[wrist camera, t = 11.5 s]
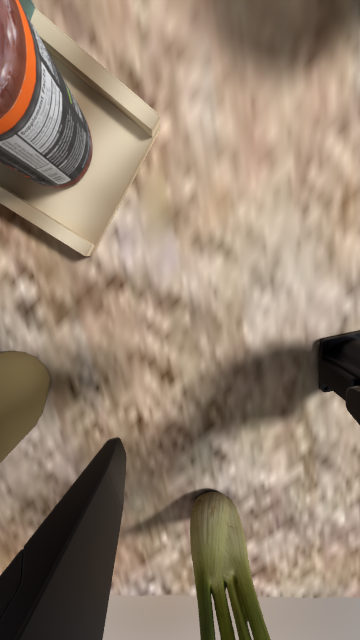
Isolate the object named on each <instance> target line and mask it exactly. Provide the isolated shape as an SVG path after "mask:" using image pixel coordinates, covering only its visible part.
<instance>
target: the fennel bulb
mask: <svg viewBox="0 0 360 640" xmlns="http://www.w3.org/2000/svg"><path fill="white" fill-rule="evenodd" d="M190 540H191V554H192V561H193V568H194V575H195V583H196V591H197V600H198V609H199V621H200V634H201V640H215V630H214V621H213V610H212V601H211V593H212V596H213V599H214V605H215V610H216V616H217V620H218V625H219V631H220V636H221V640H235V635H234V630H233V626H232V621H231V616H230V612H229V608H228V603H227V598H226V593H225V590H226V587H227V590H228V593H229V598H230V602H231V606H232V610H233V615H234V618H235V623H236V627H237V632H238V636H239V640H252V639H251V636H250V633H249V629H248V625H247V621H249V624H250V628H251V631H252V635H253V638H254V640H270V637H269V634H268V631H267V628H266V625H265V622H264V619H263V615H262V612H261V609H260V606H259V602H258V599H257V596H256V593H255V589H254V585H253V582H252V578H251V572H250V567H249V560H248V554H247V547H246V541H245V536H244V532H243V528H242V524H241V520H240V517H239V514H238V511H237V509H236V506H235V504H234V503H233V501H232V500H231V499H230V498H229V497H227V496H225V495H224V494H222V493H219V492H207V493H204V494H201V495H200V496H199V497H198V498H197V499H196V500H195V502H194V504H193V507H192V513H191V521H190Z"/></svg>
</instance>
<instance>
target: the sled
mask: <svg viewBox="0 0 360 640" xmlns="http://www.w3.org/2000/svg"><path fill="white" fill-rule="evenodd" d="M19 1H20V3H21V5H22V7H23V9H24V11H25V12H26V14H27V16H28V17H29V19H30V21H31V23H32V24H33V26H34V28H35V30H36V31H37V33H38V35H39V37H40V39H41V40H42V42H43V44H44V45H45V47H46V49H47V51H48V52H49V54H50V56H51V57H52V59H53V61H54V63H55V65H56V66H57V68H58V70H59V72H60V74H61V75H62V77H63V79H64V81H65V82H66V84H67V86H68V88H69V89H70V91H71V93H72V95H73V96H74V98H75V100H76V102H77V103H78V105H79V107H80V109H81V111H82V112H83V115H84V117H85V119H86V121H87V123H88V126H89V129H90V133H91V137H92V144H93V154H92V160H91V163H90V166H89V168H88V170H87V172H86V173H85V175H84V176H83V178H82V179H81V180H80V181H78V182H77V183H75V184H73V185H71V186H68V187H65V188H52V187H47V186H44V185H41V184H39V183H36V182H34V181H32V180H30V179H28V178H26V177H25V176H23V175H21V174H20V173H18V172H16V171H14V170H12V169H11V168H9V167H7V166H6V165H4V164H2V163H0V203H1V204H3V205H4V206H6V207H7V208H9V209H11V210H12V211H14V212H15V213H17V214H19V215H20V216H22V217H23V218H25V219H27V220H28V221H30V222H31V223H33V224H34V225H36V226H38V227H39V228H41V229H42V230H44V231H46V232H47V233H49V234H50V235H52V236H54V237H55V238H57V239H58V240H60V241H62V242H63V243H65V244H66V245H68V246H70V247H71V248H73V249H74V250H76V251H77V252H79V253H81V254H82V255H84V256H93V254H94V252H95V250H96V248H97V246H98V244H99V243H100V241H101V239H102V237H103V235H104V233H105V232H106V230H107V228H108V226H109V224H110V222H111V220H112V219H113V217H114V215H115V213H116V211H117V209H118V207H119V206H120V204H121V202H122V200H123V198H124V196H125V195H126V193H127V191H128V189H129V187H130V185H131V183H132V182H133V180H134V178H135V176H136V174H137V172H138V170H139V169H140V167H141V165H142V163H143V161H144V159H145V158H146V156H147V154H148V152H149V150H150V148H151V146H152V145H153V143H154V141H155V139H156V137H157V135H158V133H159V132H160V115H159V114H158V113H157V112H155V111H154V110H153V109H152V108H151V107H150V106H148V105H147V104H146V103H145V102H144V101H143V100H141V99H140V98H139V97H138V96H137V95H136V94H134V93H133V92H132V91H131V90H130V89H129V88H128V87H126V86H125V85H124V84H123V83H122V82H121V81H119V80H118V79H117V78H116V77H115V76H114V75H112V74H111V73H110V72H109V71H108V70H107V69H105V68H104V67H103V66H102V65H101V64H100V63H98V62H97V61H96V60H95V59H94V58H93V57H92V56H90V55H89V54H88V53H87V52H86V51H85V50H83V49H82V48H81V47H80V46H79V45H78V44H76V43H75V42H74V41H73V40H72V39H71V38H69V37H68V36H67V35H66V34H65V33H64V32H62V31H61V30H60V29H59V28H58V27H57V26H55V25H54V24H53V23H52V22H51V21H50V20H49V19H47V18H46V17H45V16H44V15H43V14H42V13H40V12H39V11H38V10H37V9H36V8H35V7H34V5H33V3H32V1H31V0H19Z"/></svg>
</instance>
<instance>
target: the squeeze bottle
mask: <svg viewBox="0 0 360 640" xmlns="http://www.w3.org/2000/svg"><path fill="white" fill-rule="evenodd" d="M49 388H50V375H49V373H48V371H47V369H46V367H45V366H44V365H43V364H42V363H41V362H40V361H39V360H38V359H37V358H36V357H33V356H31V355H29V354H27V353H25V352H17V351H8V352H3V353H0V463H1V462H2V460H3V459H4V458H5V457H6V456H7V455H8V454H9V453H10V452H11V451H12V450H13V449H14V448H15V447H16V446H17V445H18V443H19V442H20V441H21V440H22V439H23V438H24V437H25V436H26V435H27V434H28V433H29V432H30V431H31V430H32V429H33V428H34V426H35V425H36V423H37V422H38V420H39V418H40V416H41V414H42V412H43V409H44V405H45V402H46V398H47V395H48V391H49Z"/></svg>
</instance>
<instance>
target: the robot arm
mask: <svg viewBox="0 0 360 640" xmlns="http://www.w3.org/2000/svg"><path fill="white" fill-rule="evenodd" d="M325 343H326V344H325ZM319 389H320V390H321V391H323V392H330V391H334V392H335V393H336V394H338V395H339V396H340V397H341V398H343V399H344V400H345V401H346V408H347V410H348V411H349V413H350V414H351V415H352V416H353V418H354V419H355V420H356V421H357V422H358V424H359V425H360V331H357V332H352V333H348V334H343V335H338V336H333V337H329V338H324V339H322V340H321V341H320V353H319ZM125 473H126V452H125V449H124V447H123V444H122V441H121V439H120V438H119V437H117V438H112V439H109V440H108V441H107V442H106V443H105V445H104V446H103V447H102V448H101V450H100V451H99V452H98V453H97V455H96V456H95V457H94V458H93V460H92V461H91V462H90V463H89V465H88V466H87V467H86V469H85V470H84V471H83V472H82V474H81V475H80V476H79V477H78V479H77V480H76V481H75V482H74V484H73V485H72V486H71V487H70V489H69V490H68V491H67V493H66V494H65V495H64V496H63V498H62V499H61V500H60V501H59V503H58V504H57V505H56V506H55V508H54V509H53V510H52V511H51V513H50V514H49V515H48V516H47V518H46V519H45V520H44V522H43V523H42V524H41V525H40V527H39V528H38V529H37V530H36V532H35V533H34V534H33V535H32V537H31V538H30V539H29V540H28V542H27V543H26V544H25V546H24V549H22V550H20V552H19V553H18V554H17V555H16V557H15V558H14V559H13V561H12V562H11V563H10V564H9V566H8V567H7V568H6V569H5V571H4V572H3V573H2V574H1V575H0V640H102V639H103V632H104V626H105V619H106V613H107V607H108V600H109V594H110V588H111V582H112V575H113V569H114V563H115V556H116V550H117V544H118V537H119V531H120V525H121V518H122V511H123V502H124V488H125Z"/></svg>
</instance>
